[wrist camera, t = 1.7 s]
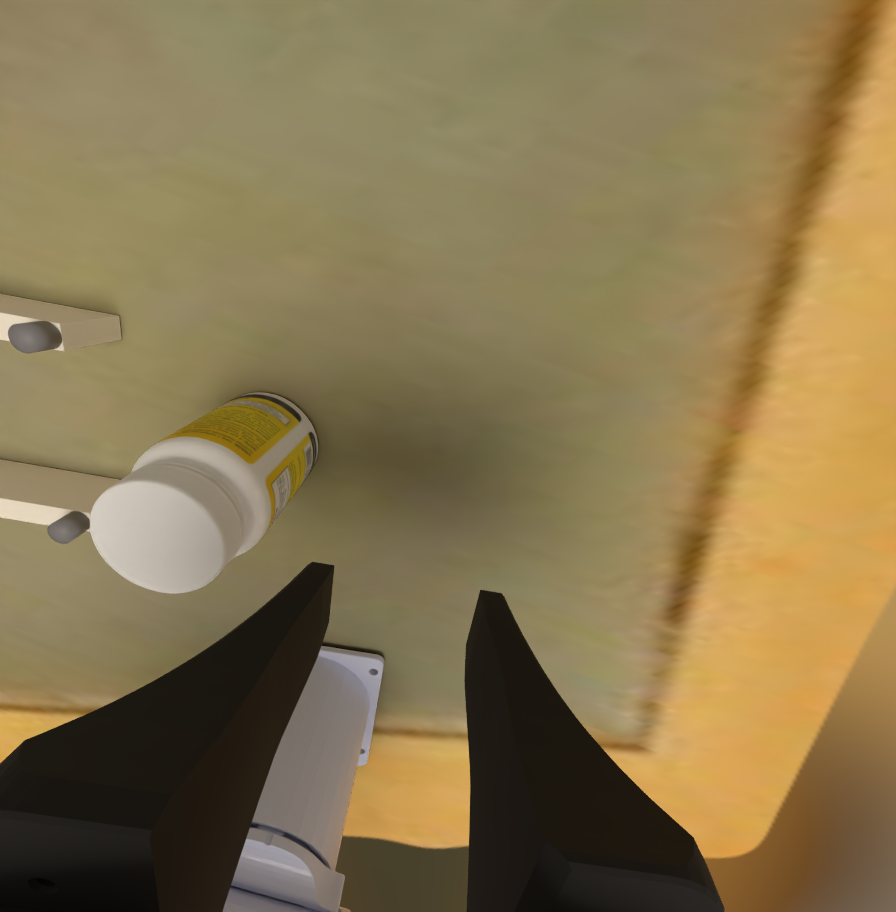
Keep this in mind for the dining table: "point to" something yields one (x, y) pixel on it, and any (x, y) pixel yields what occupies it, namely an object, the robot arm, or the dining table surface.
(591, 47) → the dining table surface
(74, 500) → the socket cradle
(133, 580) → the supplement bottle
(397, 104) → the dining table surface
